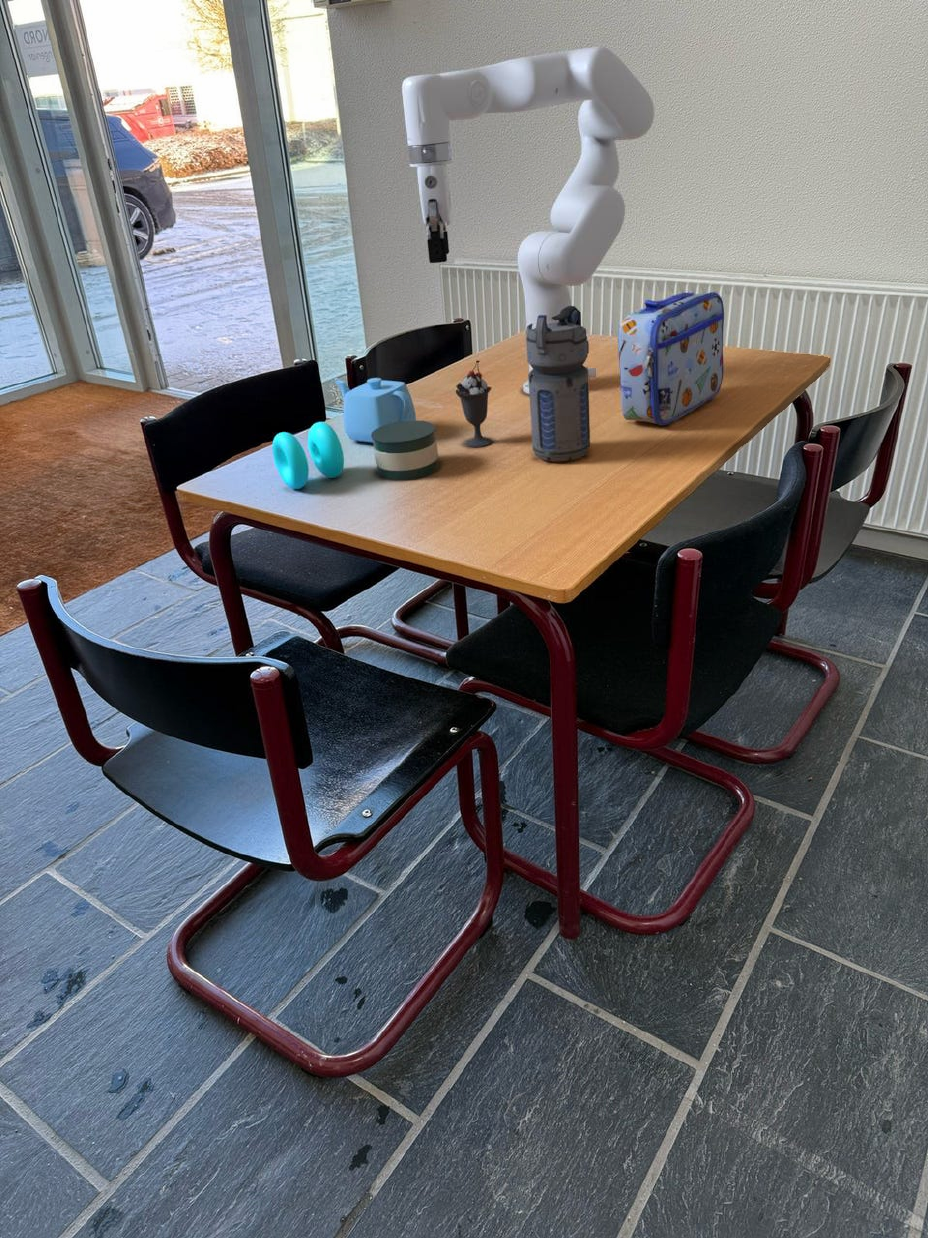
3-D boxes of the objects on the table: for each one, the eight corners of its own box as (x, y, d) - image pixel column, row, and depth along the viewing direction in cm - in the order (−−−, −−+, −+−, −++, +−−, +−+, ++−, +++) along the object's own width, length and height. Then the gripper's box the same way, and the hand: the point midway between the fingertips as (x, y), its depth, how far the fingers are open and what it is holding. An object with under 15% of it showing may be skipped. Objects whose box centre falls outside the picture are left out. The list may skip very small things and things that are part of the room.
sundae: (497, 435, 173) (490, 356, 166) (494, 447, 168) (487, 366, 160) (463, 437, 174) (454, 359, 167) (459, 449, 169) (450, 369, 161)
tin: (440, 454, 168) (435, 417, 164) (439, 476, 158) (435, 438, 154) (378, 460, 168) (373, 423, 164) (374, 483, 158) (368, 445, 155)
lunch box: (659, 437, 164) (660, 312, 153) (610, 430, 170) (608, 308, 159) (729, 394, 181) (734, 279, 170) (681, 389, 187) (684, 277, 176)
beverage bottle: (606, 443, 164) (603, 300, 151) (572, 469, 155) (566, 318, 142) (556, 437, 169) (549, 298, 157) (520, 462, 160) (510, 316, 147)
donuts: (350, 481, 160) (341, 426, 155) (299, 497, 156) (287, 442, 151) (326, 467, 168) (317, 414, 163) (276, 482, 163) (265, 428, 158)
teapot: (361, 422, 189) (352, 367, 184) (431, 430, 180) (424, 372, 174) (322, 441, 181) (312, 384, 175) (394, 451, 171) (386, 391, 166)
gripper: (449, 156, 153) (458, 263, 161) (452, 151, 168) (460, 249, 176) (405, 160, 153) (416, 267, 162) (412, 155, 168) (422, 253, 177)
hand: (439, 258), depth 169 cm, fingers open, 9 cm apart
